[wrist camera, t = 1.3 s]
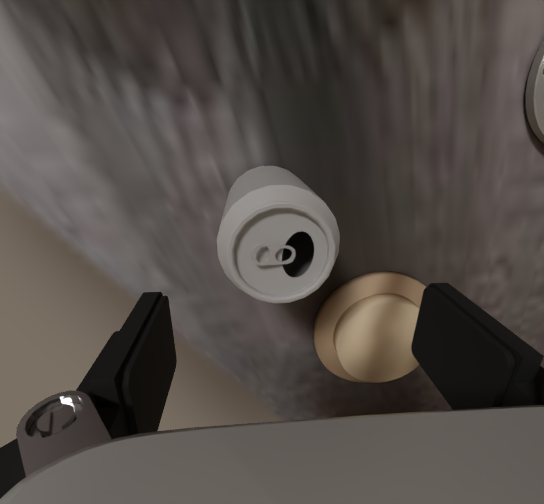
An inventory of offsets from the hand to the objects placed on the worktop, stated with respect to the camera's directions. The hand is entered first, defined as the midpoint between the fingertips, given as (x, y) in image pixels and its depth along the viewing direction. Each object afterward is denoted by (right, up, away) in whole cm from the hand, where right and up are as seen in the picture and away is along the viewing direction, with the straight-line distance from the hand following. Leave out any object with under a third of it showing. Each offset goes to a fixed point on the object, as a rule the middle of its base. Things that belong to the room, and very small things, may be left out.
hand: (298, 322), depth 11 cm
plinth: (+11, -6, +23) cm, 26 cm away
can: (-1, +7, +17) cm, 18 cm away
